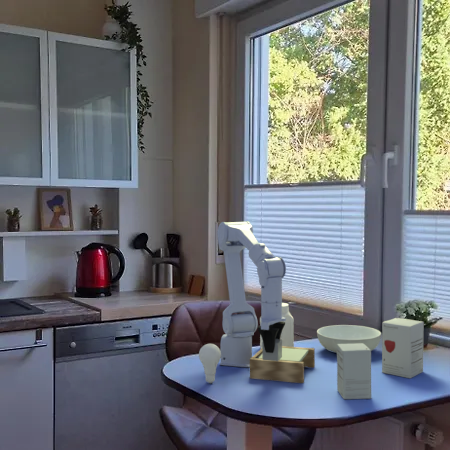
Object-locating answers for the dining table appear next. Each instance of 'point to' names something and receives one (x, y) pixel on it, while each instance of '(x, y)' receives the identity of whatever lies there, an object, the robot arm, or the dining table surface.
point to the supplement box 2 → (402, 347)
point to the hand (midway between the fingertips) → (271, 350)
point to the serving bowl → (348, 336)
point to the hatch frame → (281, 367)
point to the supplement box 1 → (354, 371)
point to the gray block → (276, 354)
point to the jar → (285, 328)
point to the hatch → (291, 354)
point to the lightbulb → (209, 360)
